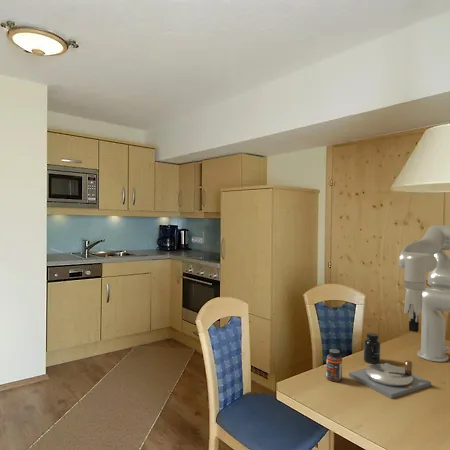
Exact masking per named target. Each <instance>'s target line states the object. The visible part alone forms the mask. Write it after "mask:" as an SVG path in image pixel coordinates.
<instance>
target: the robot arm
mask: <svg viewBox="0 0 450 450" xmlns="http://www.w3.org/2000/svg"><path fill="white" fill-rule="evenodd" d="M444 251H450V225H449V224H448V225H445V224H444V225H443V224H437V225H432V226H430V227H428V229H427V230H426V231H425V233H424V235H423V236H422V238H421V239H418V240H416V241H413V242H411V243H408V244H406V245H405V246H404V247H403V249H402V250H401V252H400V253H399V256H398V258H397V259H398V260H397V262H398V266H399V267H400V268H401V269H403V270H404V276H403V277H404V281H403V282H404V283H403V285H404V286H403V287H404V289H405V298H404V310H403V311H404V314H405V315H407V314H408V331H409V332H413V333H418V332H419V330H420V329H419V328H421V330H420V333H421V334H420V349H419V350H417V352H416V354H417V356H418V357H419V358H421V359H424V360H427V361H430V362H431V361H432V362H439V363H443V362H447V361H449V355H448V354H446V352H447V351H450V347H449V346H448V345H447V346H446V344H445V343H446V319H445V316H444V315H443V313H442V312H448V313H450V257H449V256H448V254H446V253H445V252H444ZM427 272H428V274H426V273H427ZM426 275H427V276H426ZM426 278H427V279H426ZM426 280H427V281H426ZM426 282H427V284H428V286H430V287H426ZM420 314H421V321H419V318H420ZM420 322H421V327H419V326H420V325H419V324H420Z"/></svg>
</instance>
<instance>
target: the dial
mask: <svg viewBox="0 0 450 450" xmlns="http://www.w3.org/2000/svg"><path fill="white" fill-rule="evenodd" d="M388 364H389V363H388ZM388 364H384V363H377V364H373V363H371V364H369V365H367V366H366V367H365V368H366V375H367V377H368V378H370V379H371V380H373V381H375V382H377V383H380V384H384V385H388V386H396V387H402V386H408V385H411V384H412V383H413V375H412V374H413V362H412V361H411V360H405V361H404V368H403V367H401V366H398V365H393V364H390V365H388Z"/></svg>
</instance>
